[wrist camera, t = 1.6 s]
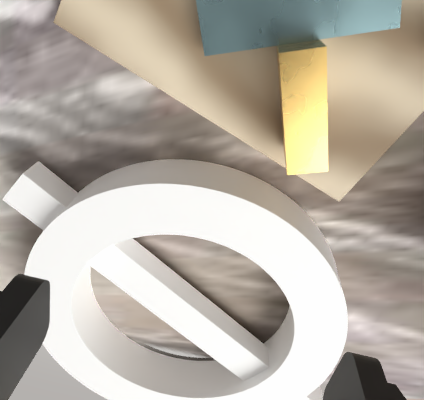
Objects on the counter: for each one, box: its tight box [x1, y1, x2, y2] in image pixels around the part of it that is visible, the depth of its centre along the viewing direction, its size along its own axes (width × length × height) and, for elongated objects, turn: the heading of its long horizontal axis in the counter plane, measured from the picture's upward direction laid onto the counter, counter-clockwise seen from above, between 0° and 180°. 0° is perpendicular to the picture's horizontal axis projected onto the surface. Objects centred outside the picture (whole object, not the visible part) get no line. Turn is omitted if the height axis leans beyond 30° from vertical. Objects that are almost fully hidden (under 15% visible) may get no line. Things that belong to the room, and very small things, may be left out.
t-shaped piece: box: [196, 0, 402, 175], centre depth 21 cm, size 18×11×4 cm, turn 9°
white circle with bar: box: [2, 159, 348, 400], centre depth 36 cm, size 28×28×5 cm
